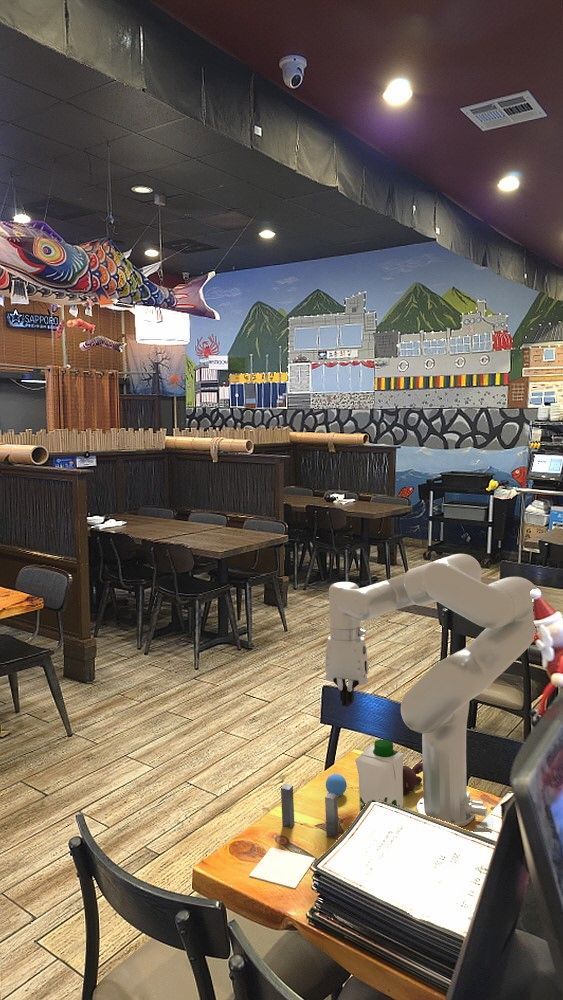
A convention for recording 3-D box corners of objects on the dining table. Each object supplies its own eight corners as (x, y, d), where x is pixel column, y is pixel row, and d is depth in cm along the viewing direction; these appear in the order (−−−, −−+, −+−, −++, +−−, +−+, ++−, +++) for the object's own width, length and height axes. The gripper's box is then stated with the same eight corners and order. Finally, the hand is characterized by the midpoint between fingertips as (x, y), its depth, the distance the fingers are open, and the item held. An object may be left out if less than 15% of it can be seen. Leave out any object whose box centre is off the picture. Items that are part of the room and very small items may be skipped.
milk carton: (409, 832, 150) (407, 743, 148) (390, 854, 143) (387, 760, 141) (373, 820, 155) (370, 734, 153) (353, 841, 148) (350, 750, 146)
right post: (338, 834, 151) (337, 794, 150) (335, 839, 149) (333, 799, 148) (330, 832, 151) (328, 792, 151) (326, 837, 150) (325, 797, 149)
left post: (294, 823, 155) (292, 785, 154) (290, 828, 153) (289, 789, 152) (286, 822, 156) (284, 783, 155) (282, 826, 154) (280, 788, 153)
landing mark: (315, 859, 142) (315, 858, 142) (295, 888, 133) (295, 887, 133) (271, 848, 146) (271, 847, 146) (249, 876, 138) (248, 875, 138)
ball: (349, 791, 168) (349, 771, 167) (342, 802, 163) (341, 781, 163) (330, 787, 170) (329, 768, 170) (322, 797, 166) (322, 777, 165)
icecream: (391, 784, 158) (437, 770, 167) (370, 764, 164) (416, 751, 172) (384, 810, 160) (430, 794, 168) (364, 789, 166) (409, 775, 174)
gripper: (379, 631, 172) (380, 703, 174) (323, 625, 178) (325, 695, 180) (369, 640, 165) (371, 714, 167) (311, 634, 171) (313, 706, 173)
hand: (347, 704), depth 173 cm, fingers closed
